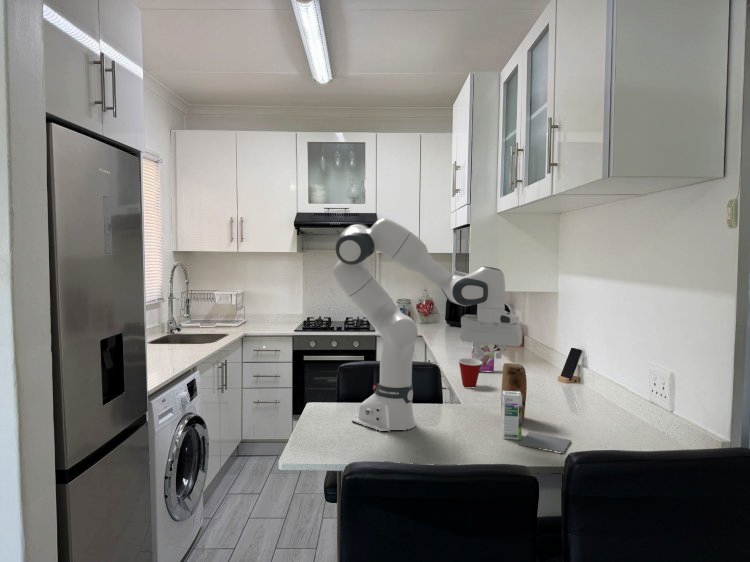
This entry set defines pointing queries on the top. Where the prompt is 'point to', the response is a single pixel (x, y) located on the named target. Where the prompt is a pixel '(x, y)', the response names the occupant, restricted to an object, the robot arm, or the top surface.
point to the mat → (545, 442)
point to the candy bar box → (487, 358)
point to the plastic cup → (469, 371)
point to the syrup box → (511, 415)
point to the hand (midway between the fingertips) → (489, 357)
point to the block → (515, 381)
